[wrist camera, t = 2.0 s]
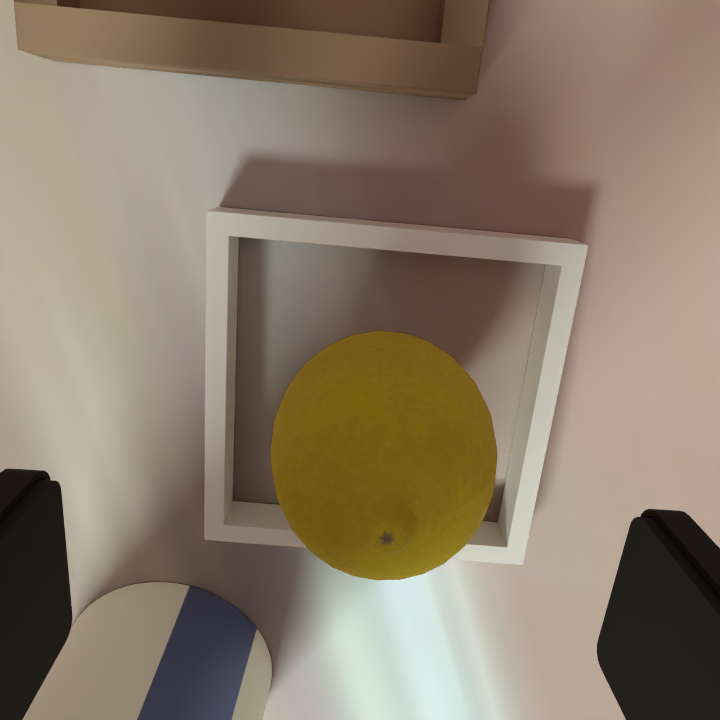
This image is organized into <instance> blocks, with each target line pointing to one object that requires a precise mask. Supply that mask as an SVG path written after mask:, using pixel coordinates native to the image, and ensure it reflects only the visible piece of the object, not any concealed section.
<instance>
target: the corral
mask: <svg viewBox="0 0 720 720" xmlns="http://www.w3.org/2000/svg"><path fill="white" fill-rule="evenodd" d="M239 237H246V238H258V239H269V240H280V241H291V242H303V243H314V244H325V245H336V246H347V247H359V248H370V249H381V250H392V251H403V252H415V253H426V254H437V255H448V256H460V257H471V258H482V259H493V260H504V261H516V262H527V263H538V264H546V266H545V271H544V277H543V282H542V287H541V293H540V298H539V304H538V309H537V314H536V320H535V325H534V330H533V336H532V341H531V347H530V352H529V357H528V363H527V368H526V374H525V379H524V384H523V390H522V395H521V401H520V406H519V411H518V417H517V422H516V427H515V433H514V438H513V444H512V449H511V454H510V460H509V465H508V471H507V476H506V481H505V487H504V492H503V497H502V503H501V508H500V514H499V519H498V522H489V521H482V523H481V526H480V527H479V528H478V530H477V531H476V532H475V534H474V535H473V536H472V538H471V539H470V540H469V542H468V543H467V544H466V546H464V547H463V548H462V549H461V550H460V551H459V552H458V553H456V554H455V555H454V556H453V557H452V558H450V559H456V560H468V561H481V562H494V563H507V564H520V565H523V561H524V556H525V551H526V546H527V541H528V536H529V531H530V527H531V522H532V517H533V512H534V507H535V502H536V497H537V493H538V488H539V483H540V478H541V473H542V468H543V463H544V459H545V454H546V449H547V444H548V439H549V434H550V430H551V425H552V420H553V415H554V410H555V405H556V400H557V396H558V391H559V386H560V381H561V376H562V371H563V366H564V362H565V357H566V352H567V347H568V342H569V337H570V332H571V328H572V323H573V318H574V313H575V308H576V303H577V298H578V294H579V289H580V284H581V279H582V274H583V269H584V265H585V260H586V255H587V250H588V245H586V244H584V243H581V242H579V241H576V240H574V239H569V238H558V237H547V236H536V235H525V234H514V233H503V232H492V231H481V230H470V229H459V228H447V227H436V226H425V225H414V224H403V223H392V222H381V221H370V220H359V219H348V218H337V217H325V216H314V215H303V214H292V213H281V212H270V211H259V210H248V209H237V208H226V207H217V208H214V209H211V210H208V211H206V334H205V487H204V540H213V541H226V542H238V543H251V544H264V545H277V546H289V547H302V548H307V547H306V546H305V545H304V543H303V542H302V541H301V540H300V539H299V538H298V536H297V535H296V534H295V533H294V532H293V530H292V528H291V527H290V525H289V523H288V521H287V519H286V517H285V515H284V513H283V510H282V508H281V506H280V505H275V504H263V503H250V502H238V501H233V462H234V420H235V377H236V335H237V292H238V250H239Z"/></svg>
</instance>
